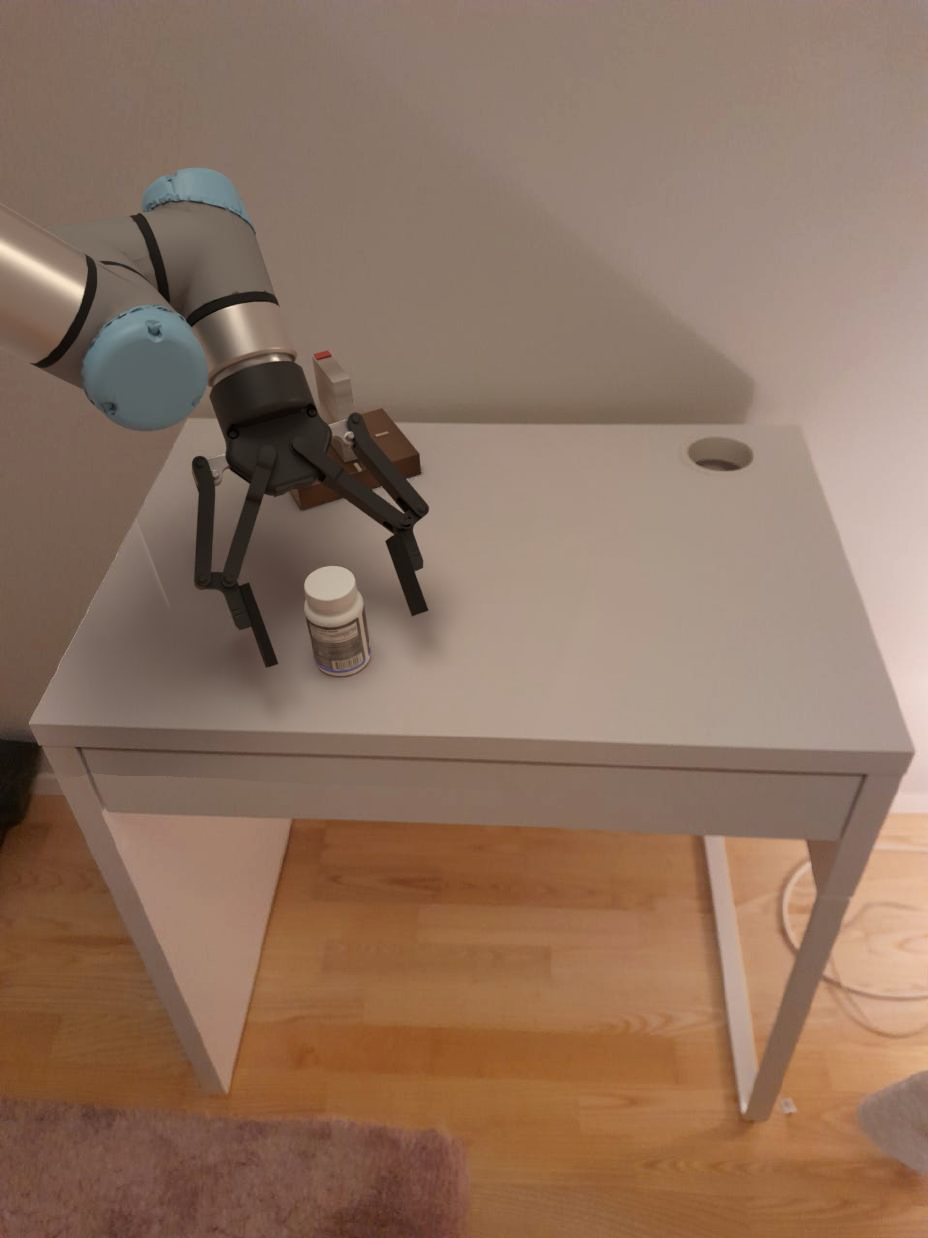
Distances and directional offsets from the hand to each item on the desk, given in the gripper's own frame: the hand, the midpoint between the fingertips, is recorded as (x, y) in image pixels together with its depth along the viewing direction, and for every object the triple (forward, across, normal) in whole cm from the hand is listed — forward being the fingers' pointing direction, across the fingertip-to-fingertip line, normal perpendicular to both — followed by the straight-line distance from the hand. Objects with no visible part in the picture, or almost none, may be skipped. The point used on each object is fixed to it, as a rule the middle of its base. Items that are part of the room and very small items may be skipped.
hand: (348, 639), depth 74 cm
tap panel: (-17, -10, -23) cm, 31 cm away
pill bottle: (+1, 0, -5) cm, 5 cm away
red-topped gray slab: (-19, -10, -21) cm, 30 cm away
